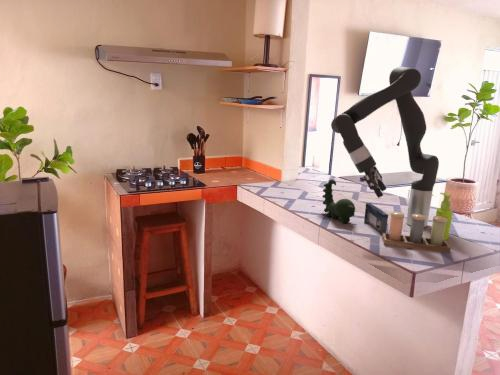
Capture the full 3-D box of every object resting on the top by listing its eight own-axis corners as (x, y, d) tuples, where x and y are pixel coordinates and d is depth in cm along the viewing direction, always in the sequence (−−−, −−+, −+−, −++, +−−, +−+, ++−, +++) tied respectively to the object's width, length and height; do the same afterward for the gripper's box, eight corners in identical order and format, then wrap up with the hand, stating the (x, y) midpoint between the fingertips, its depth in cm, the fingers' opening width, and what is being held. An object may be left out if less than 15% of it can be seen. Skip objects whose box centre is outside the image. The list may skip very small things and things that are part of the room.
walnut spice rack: (381, 240, 157) (382, 232, 156) (444, 248, 152) (445, 240, 151) (383, 248, 149) (384, 239, 148) (449, 256, 144) (450, 247, 143)
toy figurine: (317, 215, 194) (344, 227, 170) (318, 178, 191) (346, 185, 168) (333, 214, 197) (362, 225, 173) (334, 177, 194) (364, 184, 171)
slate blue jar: (407, 241, 153) (411, 213, 150) (420, 243, 152) (424, 214, 149) (409, 246, 148) (413, 216, 146) (422, 247, 147) (426, 218, 144)
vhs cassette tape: (363, 223, 179) (365, 202, 177) (369, 223, 180) (372, 202, 177) (379, 237, 162) (381, 214, 159) (385, 237, 162) (388, 214, 160)
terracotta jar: (387, 239, 155) (390, 211, 152) (399, 241, 153) (403, 212, 151) (388, 243, 150) (391, 214, 147) (401, 245, 149) (405, 215, 146)
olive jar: (427, 244, 151) (432, 215, 148) (440, 245, 150) (445, 216, 147) (430, 248, 146) (434, 218, 144) (443, 250, 145) (448, 220, 143)
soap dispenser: (441, 237, 164) (449, 192, 160) (450, 243, 158) (458, 196, 153) (428, 236, 164) (435, 191, 159) (436, 242, 157) (444, 195, 153)
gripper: (367, 158, 146) (388, 194, 146) (373, 150, 158) (393, 184, 158) (350, 167, 150) (370, 202, 150) (357, 159, 162) (377, 191, 162)
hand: (382, 193), depth 154 cm, fingers open, 8 cm apart
